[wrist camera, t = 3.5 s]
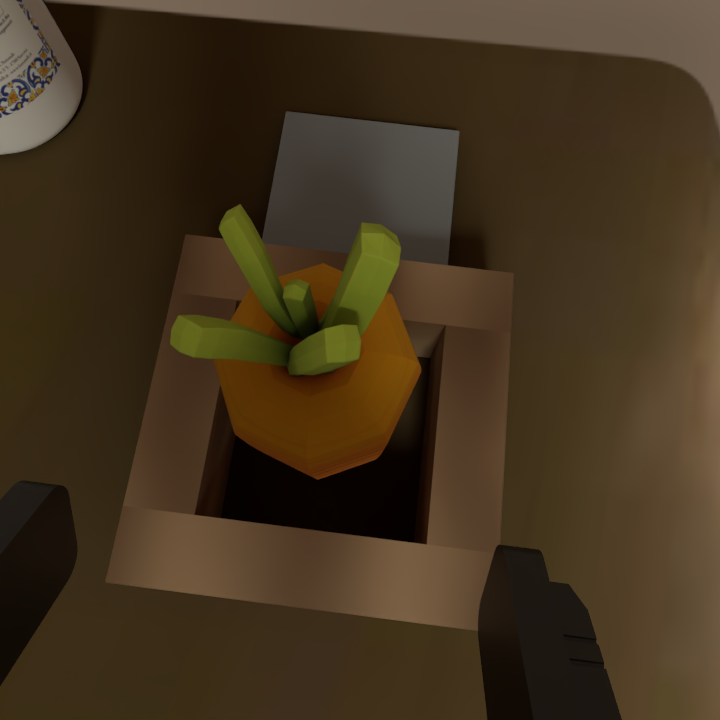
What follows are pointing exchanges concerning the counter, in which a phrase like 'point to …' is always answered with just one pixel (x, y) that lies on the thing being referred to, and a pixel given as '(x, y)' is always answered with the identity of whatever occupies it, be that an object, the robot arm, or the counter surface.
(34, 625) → the robot arm
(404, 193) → the plate
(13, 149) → the bath foam
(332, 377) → the carrot
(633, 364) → the counter surface
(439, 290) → the holder
